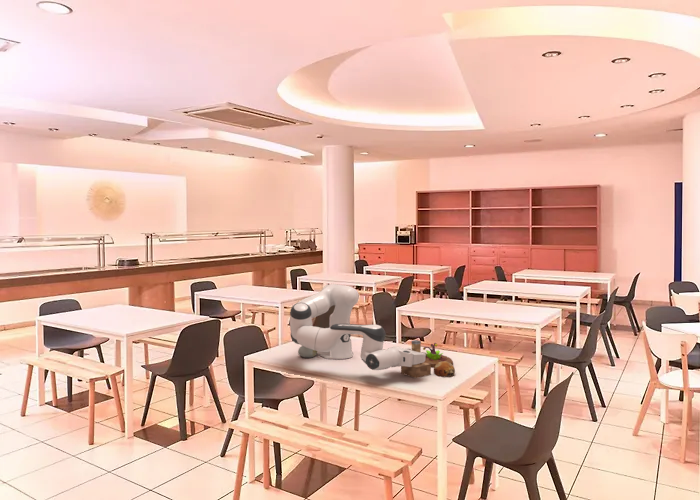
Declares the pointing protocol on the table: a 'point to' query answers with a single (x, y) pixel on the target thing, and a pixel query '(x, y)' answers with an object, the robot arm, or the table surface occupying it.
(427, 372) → the square wooden socket base
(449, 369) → the bread roll
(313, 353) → the air freshener
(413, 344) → the upright wooden post
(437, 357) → the plant
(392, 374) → the table surface
